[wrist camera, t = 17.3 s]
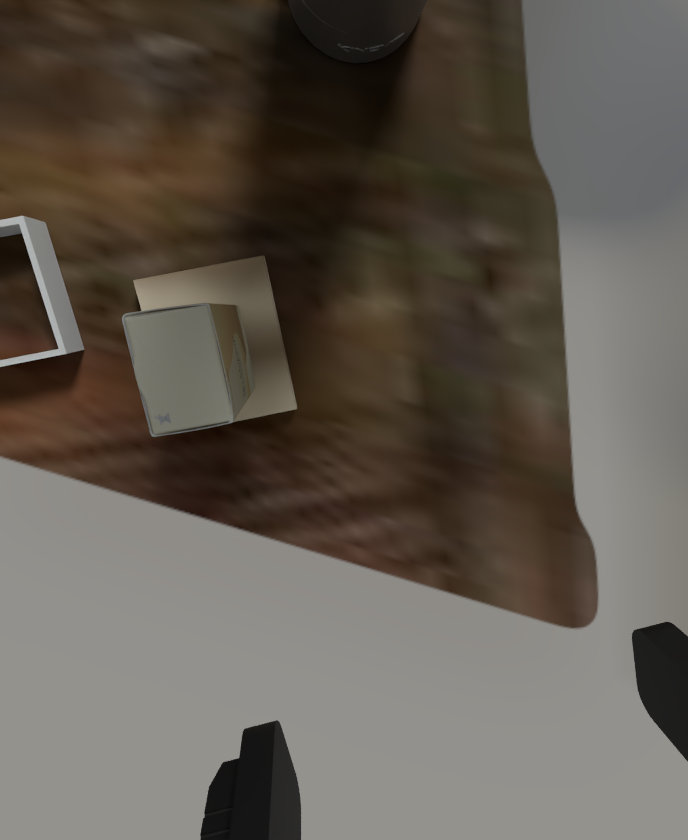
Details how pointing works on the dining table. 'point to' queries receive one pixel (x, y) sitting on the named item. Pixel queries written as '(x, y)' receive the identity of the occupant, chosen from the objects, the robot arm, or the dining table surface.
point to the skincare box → (190, 365)
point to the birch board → (259, 316)
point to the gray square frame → (45, 287)
